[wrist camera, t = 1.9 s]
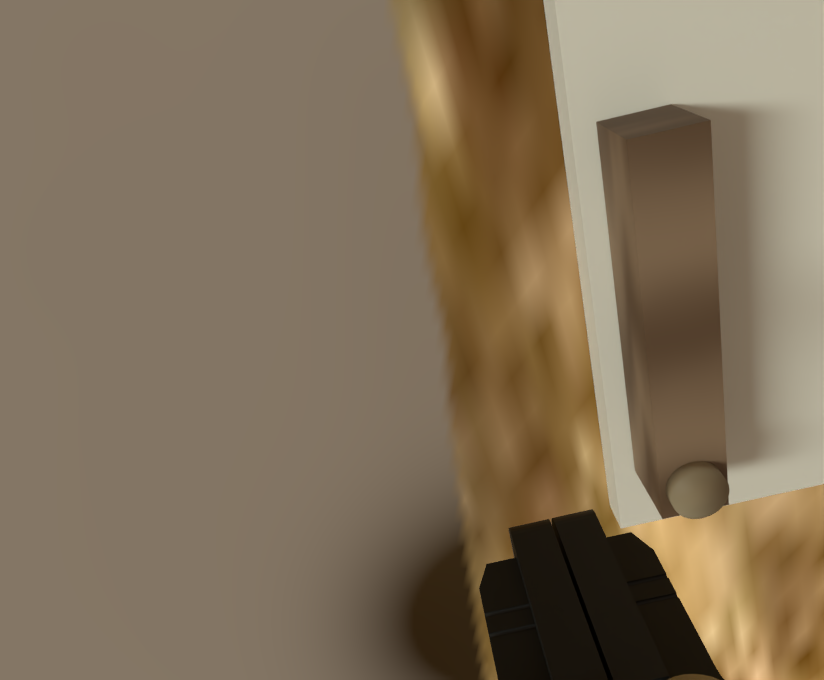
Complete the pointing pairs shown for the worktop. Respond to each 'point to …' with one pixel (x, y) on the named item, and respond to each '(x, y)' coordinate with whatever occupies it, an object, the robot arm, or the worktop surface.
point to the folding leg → (668, 303)
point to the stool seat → (734, 213)
